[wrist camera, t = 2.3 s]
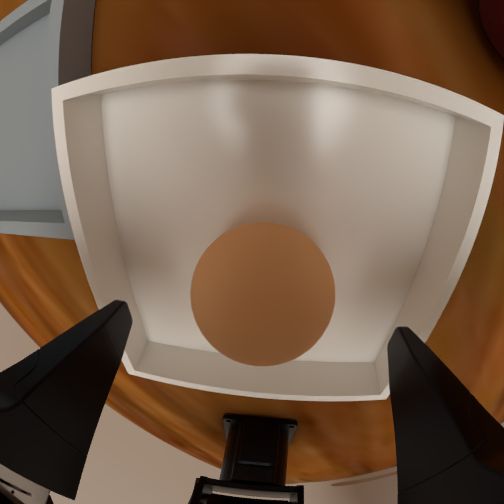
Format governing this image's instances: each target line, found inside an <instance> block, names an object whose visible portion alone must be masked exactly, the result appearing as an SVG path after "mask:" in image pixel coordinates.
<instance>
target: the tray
mask: <svg viewBox="0 0 504 504" xmlns="http://www.w3.org/2000/svg"><path fill="white" fill-rule="evenodd" d="M94 8H95V0H28V1H27V2H25V3H24V4H22V5H21V6H20V7H18V8H17V9H15V10H14V11H13V12H11V13H10V14H9V15H8V16H6V17H5V18H4V19H3V20H1V21H0V233H6V234H17V235H28V236H38V237H49V238H60V239H71V240H75V238H74V234H73V231H72V227H71V223H70V219H69V215H68V211H67V207H66V202H65V198H64V193H63V188H62V183H61V177H60V171H59V165H58V159H57V152H56V144H55V136H54V126H53V113H52V93H51V88H54V87H57V86H60V85H62V84H65V83H68V82H71V81H74V80H78V79H81V78H84V77H87V76H91V47H92V30H93V18H94Z"/></svg>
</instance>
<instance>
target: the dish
mask: <svg viewBox="0 0 504 504" xmlns="http://www.w3.org/2000/svg"><path fill="white" fill-rule="evenodd" d="M51 93H52V113H53V126H54V136H55V144H56V152H57V159H58V165H59V171H60V177H61V183H62V188H63V193H64V198H65V202H66V207H67V211H68V215H69V219H70V223H71V227H72V231H73V234H74V238H75V242H76V245H77V248H78V252H79V255H80V258H81V261H82V265H83V268H84V271H85V274H86V276H87V279H88V282H89V285H90V288H91V290H92V293H93V296H94V298H95V301H96V304H97V306H98V309H99V310H100V309H101V308H103V307H104V306H106V305H108V304H109V303H111V302H112V301H114V300H121V301H125V302H127V304H128V307H129V310H130V313H131V316H132V320H133V323H132V327H131V330H130V333H129V337H128V340H127V343H126V347H125V350H124V354H123V357H122V362H123V364H124V366H125V368H126V370H127V372H128V373H129V374H132V375H136V376H139V377H143V378H147V379H151V380H156V381H160V382H164V383H169V384H173V385H178V386H183V387H188V388H194V389H199V390H205V391H211V392H218V393H225V394H232V395H240V396H248V397H258V398H269V399H282V400H300V401H364V400H382V399H386V398H387V397H388V396H389V394H390V389H389V370H388V354H387V346H388V342H389V340H390V338H391V336H392V334H393V332H394V330H395V329H396V327H398V326H407V327H409V328H410V329H411V330H412V331H413V332H414V333H415V334H416V335H417V336H418V337H419V338H420V339H421V340H422V341H423V342H424V343H425V342H426V340H427V339H428V337H429V335H430V334H431V332H432V330H433V328H434V327H435V325H436V323H437V321H438V320H439V318H440V316H441V314H442V312H443V310H444V308H445V307H446V305H447V303H448V301H449V299H450V297H451V295H452V293H453V291H454V288H455V286H456V284H457V282H458V280H459V278H460V275H461V273H462V271H463V269H464V266H465V264H466V262H467V259H468V257H469V254H470V252H471V249H472V247H473V244H474V241H475V238H476V236H477V233H478V230H479V227H480V224H481V221H482V218H483V215H484V212H485V208H486V205H487V202H488V198H489V194H490V191H491V187H492V183H493V179H494V174H495V170H496V165H497V160H498V155H499V149H500V144H501V137H502V130H503V122H504V115H502V114H500V113H498V112H496V111H494V110H492V109H490V108H488V107H486V106H484V105H482V104H480V103H478V102H476V101H473V100H471V99H469V98H467V97H464V96H462V95H459V94H457V93H454V92H452V91H449V90H447V89H444V88H441V87H439V86H436V85H433V84H430V83H427V82H424V81H421V80H418V79H415V78H411V77H408V76H404V75H401V74H397V73H394V72H390V71H386V70H382V69H377V68H373V67H368V66H363V65H358V64H353V63H348V62H342V61H335V60H328V59H321V58H312V57H303V56H291V55H274V54H221V55H204V56H192V57H182V58H174V59H167V60H160V61H153V62H147V63H142V64H137V65H132V66H127V67H122V68H118V69H114V70H110V71H106V72H102V73H98V74H94V75H91V76H87V77H84V78H81V79H78V80H74V81H71V82H68V83H65V84H62V85H60V86H57V87H54V88H51ZM255 222H271V223H278V224H282V225H285V226H288V227H291V228H293V229H295V230H297V231H299V232H301V233H303V234H304V235H305V236H307V237H308V238H309V239H310V240H312V241H313V242H314V243H315V244H316V245H317V246H318V248H319V249H320V250H321V251H322V253H323V254H324V256H325V258H326V259H327V261H328V263H329V265H330V268H331V271H332V274H333V277H334V283H335V306H334V311H333V314H332V317H331V320H330V323H329V325H328V327H327V328H326V330H325V332H324V334H323V335H322V337H321V338H320V339H319V340H318V342H317V343H316V344H315V345H314V346H313V347H312V348H311V349H309V350H308V351H307V352H305V353H304V354H302V355H301V356H299V357H298V358H296V359H294V360H291V361H289V362H286V363H283V364H279V365H274V366H252V365H246V364H242V363H239V362H236V361H234V360H232V359H230V358H228V357H226V356H225V355H223V354H221V353H220V352H219V351H217V350H216V349H215V348H214V347H213V346H212V345H211V344H210V343H209V342H208V341H207V340H206V338H205V337H204V336H203V335H202V333H201V331H200V329H199V328H198V326H197V324H196V321H195V319H194V315H193V312H192V307H191V297H190V290H191V282H192V277H193V274H194V270H195V268H196V265H197V263H198V261H199V259H200V258H201V256H202V254H203V253H204V252H205V250H206V249H207V248H208V247H209V246H210V245H211V244H212V243H213V242H214V241H215V240H216V239H217V238H218V237H219V236H221V235H222V234H224V233H226V232H227V231H229V230H231V229H233V228H235V227H238V226H241V225H244V224H248V223H255Z"/></svg>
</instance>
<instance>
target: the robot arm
mask: <svg viewBox="0 0 504 504" xmlns="http://www.w3.org/2000/svg"><path fill="white" fill-rule="evenodd" d="M132 323H133V320H132V316H131V313H130V310H129V307H128V304H127V302H125V301H121V300H114V301H112V302H111V303H109V304H108V305H106V306H104V307H103V308H101V309H100V310H98V311H97V312H95V313H93V314H92V315H90V316H89V317H87V318H86V319H84V320H82V321H81V322H79V323H78V324H76V325H75V326H73V327H72V328H70V329H68V330H67V331H65V332H64V333H62V334H61V335H59V336H58V337H56V338H55V339H53V340H52V341H50V342H49V343H47V344H46V345H44V346H43V347H41V348H40V349H38V350H37V351H35V352H34V353H32V354H31V355H29V356H27V357H26V358H24V359H23V360H21V361H20V362H18V363H16V364H14V365H13V366H11V367H10V368H7V369H6V370H4V371H2V372H0V504H53V501H52V499H51V496H50V495H49V493H50V491H53V492H55V493H57V494H60V495H62V496H65V497H67V498H70V499H72V500H75V497H76V494H77V490H78V486H79V483H80V479H81V475H82V472H83V468H84V465H85V461H86V458H87V454H88V451H89V448H90V445H91V442H92V439H93V436H94V433H95V430H96V427H97V424H98V421H99V418H100V415H101V412H102V409H103V407H104V404H105V401H106V399H107V396H108V393H109V391H110V388H111V386H112V383H113V380H114V378H115V375H116V373H117V370H118V368H119V365H120V363H121V360H122V357H123V354H124V350H125V347H126V343H127V340H128V337H129V333H130V330H131V327H132ZM387 354H388V370H389V389H390V397H391V404H392V412H393V421H394V431H395V442H396V456H397V477H398V492H399V493H398V504H504V428H503V427H502V426H501V425H500V424H499V423H498V422H497V421H496V420H495V419H494V418H493V417H492V416H491V415H490V414H489V413H488V411H487V410H486V409H485V408H484V407H483V406H482V405H481V404H480V403H479V402H478V401H477V399H476V398H475V397H474V396H473V395H472V394H470V392H469V390H468V389H467V388H466V387H465V386H464V385H463V384H462V383H461V382H460V380H459V379H458V378H457V377H456V376H455V375H454V374H453V373H452V372H451V371H450V369H449V368H448V367H447V366H446V365H445V364H444V363H443V362H442V361H441V360H440V359H439V358H438V357H437V356H436V355H435V353H434V352H433V351H432V350H431V349H430V348H429V347H428V346H427V345H426V344H425V343H424V342H423V341H422V340H421V339H420V338H419V337H418V336H417V335H416V334H415V333H414V332H413V331H412V330H411V329H410V328H409V327H407V326H398V327H396V329H395V330H394V332H393V334H392V336H391V338H390V340H389V342H388V346H387ZM223 424H224V431H225V437H226V440H227V442H226V448H225V453H224V458H223V464H222V469H221V474H220V480H216V479H211V478H208V477H204V476H201V477H200V478H196V482H195V486H194V490H193V493H192V496H191V498H190V501H189V503H188V504H304V486H303V485H299V486H298V485H297V486H285V481H286V469H287V455H288V446H289V444H290V442H291V440H292V438H293V435H294V433H295V431H296V429H297V422H296V421H286V420H271V419H260V418H250V417H241V416H233V415H224V417H223ZM212 491H216V492H223V493H230V494H237V495H246V496H257V497H272V498H290V501H289V502H288V501H282V500H263V499H251V498H240V497H233V496H225V495H219V494H213V493H212Z"/></svg>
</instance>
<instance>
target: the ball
mask: <svg viewBox="0 0 504 504" xmlns="http://www.w3.org/2000/svg"><path fill="white" fill-rule="evenodd" d="M190 297H191V307H192V312H193V315H194V319H195V321H196V324H197V326H198V328H199V329H200V331H201V333H202V335H203V336H204V337H205V338H206V340H207V341H208V342H209V343H210V344H211V345H212V346H213V347H214V348H215V349H216V350H217V351H219V352H220V353H221V354H223V355H225V356H226V357H228V358H230V359H232V360H234V361H236V362H239V363H242V364H246V365H252V366H274V365H279V364H283V363H286V362H289V361H291V360H294V359H296V358H298V357H299V356H301V355H302V354H304V353H305V352H307V351H308V350H309V349H311V348H312V347H313V346H314V345H315V344H316V343H317V342H318V340H319V339H320V338H321V337H322V335H323V334H324V332H325V330H326V328H327V327H328V325H329V323H330V320H331V317H332V314H333V311H334V306H335V283H334V277H333V274H332V271H331V268H330V265H329V263H328V261H327V259H326V258H325V256H324V254H323V253H322V251H321V250H320V249H319V248H318V246H317V245H316V244H315V243H314V242H313V241H312V240H310V239H309V238H308V237H307V236H305V235H304V234H303V233H301V232H299V231H297V230H295V229H293V228H291V227H288V226H285V225H282V224H278V223H271V222H255V223H248V224H244V225H241V226H238V227H235V228H233V229H231V230H229V231H227V232H226V233H224V234H222V235H221V236H219V237H218V238H217V239H216V240H215V241H214V242H213V243H212V244H211V245H210V246H209V247H208V248H207V249H206V250H205V252H204V253H203V254H202V256H201V258H200V259H199V261H198V263H197V265H196V268H195V270H194V274H193V277H192V282H191V290H190Z"/></svg>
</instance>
